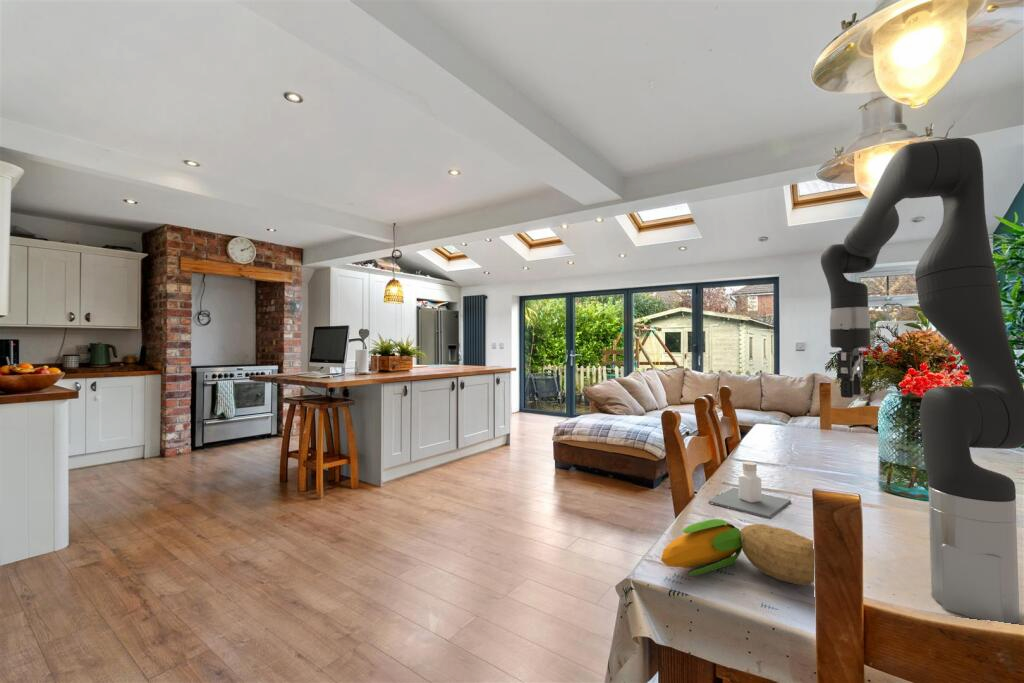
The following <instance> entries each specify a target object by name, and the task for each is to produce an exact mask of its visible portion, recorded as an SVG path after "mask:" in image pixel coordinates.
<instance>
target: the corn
mask: <svg viewBox="0 0 1024 683" xmlns="http://www.w3.org/2000/svg"><path fill="white" fill-rule="evenodd" d="M740 531H741V529H739V528H738V527H736V526H734V525H733V524H732V523H730V522H727V521H725V520H724V519H709V520H704V521H698V522H696V523H692V524H691V525H688V526H686V527H685V528H684V529H682V531H681V532H682V533H684V534H682V535H681V536H679V537H677V538H675V539H674V540H673V539H672V541H671V542H670V543H669V544H668V545H666V547H665V548H663V551H662V555H661V559H660V561H661V562H662V563H663V564H665V565H666V566H667V567H670V568H671V567H673V568H686V569H694V568H697V567H700V566H704V567H701V568H698V569H695V570H692V571H690V572H689V573H688V574H687V576H690V577H691V575H693V576H699V575H698V574H700V575H703V574H707V573H710V572H712V570H713V571H716V570H718V568H719V569H721V568H724V567H727V566H731V565H733V564H735V563H736V561H737V559H738V558H739V556H740V555H741V552H742V551H743V550H742V545H741V537H740ZM711 563H712V564H711ZM708 564H710V565H708ZM705 565H708V566H705ZM715 569H716V570H715ZM709 571H710V572H709ZM706 572H707V573H706ZM702 573H703V574H702Z"/></svg>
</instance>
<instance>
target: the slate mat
mask: <svg viewBox="0 0 1024 683" xmlns="http://www.w3.org/2000/svg"><path fill="white" fill-rule="evenodd" d="M761 496H762V500H761V501H759V502H753V503H750V502H747V501H745V500H742V499H740V498H739V487H738V488H737V487H732V488H730V489H728V490H727V491H725V492H723V493H721V494H719V495H717V496H715V497H713V498H711V499H709V500H708V504H709V503H713V504H717V505H722V506H725V507H729V508H732V509H731V510H733V509H735V510H734V511H737V510H739V511H738V512H741V511H743V512H742V513H745V512H746V514H748V515H749V514H751V515H753V516H758V517H762V518H766V519H770V518H773V516H774V515H776V514H777V513H778V512H780V511H781V510H782V509H785V507H787V506H788V505H789V504H791V502H792V500H791V499H788V498H784V497H779V496H774V495H769V494H765V493H761ZM713 504H712V505H713ZM787 504H788V505H787ZM717 505H716V506H717ZM725 507H724V508H725ZM729 508H728V509H729Z"/></svg>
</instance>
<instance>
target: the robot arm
mask: <svg viewBox="0 0 1024 683" xmlns="http://www.w3.org/2000/svg"><path fill="white" fill-rule="evenodd" d="M981 152H982V151H981V149H980V147H979V145H978V143H977V142H976V140H974V139H972V138H969V137H955V138H954V137H953V138H943V139H936V140H935V139H934V140H926V141H919V142H918V141H917V142H914V143H913V142H912V143H909V144H906V145H904V146H902V147H900V148H899V149H898V150H897V151H896V152H894V155H893V156H892V157H891V159H889V162H888V163H887V164H886V167H885V168H884V171H883V172H882V175H881V176H880V177H879V178H880V179H879V181H878V182H877V185H876V186H875V188H874V191H873V192H872V195H871V197H870V199H869V201H868V203H867V205H866V208H865V210H864V211H863V213H862V215H861V216H860V217H859V219H857V221H856V222H855V223H854V225H853V226H852V227H851V229H850V230H849V231H848V232H847V234H846V236H845V238H844V240H843V243H836V244H831V245H828V246H827V247H825V248H824V249H823V251H822V253H821V255H820V265H821V268H822V271H823V273H824V276H825V278H826V281H827V285H828V288H829V294H830V315H829V316H830V317H829V338H830V339H829V340H830V344H829V345H830V347H831V348H834V349H836V348H839V349H841V351H837V353H836V363H837V364H836V369H837V370H836V373H837V374H836V378H837V379H838V380H839V381H840V396H841V398H847V399H852V398H854V396H860V395H862V381H861V380H862V378H863V377H864V375H865V374H864V362H863V360H864V357H863V355H864V353H863V351H859V349H860V348H869V347H870V346H871V320H870V319H871V317H870V313H869V312H870V310H869V290H868V289H869V288H868V286H867V285H866V284H865V283H861V282H856V281H852V280H851V281H850V280H849V279H847V277H846V276H845V275H844V274H857V273H858V274H860V273H861V274H862V273H866V272H868V271H870V270H872V269H873V268H874V267H875V266H876V263H877V260H878V256H879V254H880V252H881V249H882V248H883V247H884V246H885V245H886V244H887V243H888V242H889V240H891V239H892V238H893V237H894V235H895V234H896V232H897V230H898V228H899V224H900V216H899V213H898V210H897V208H896V206H897V204H898V203H899V202H901V201H903V200H905V199H922V198H933V197H940V198H941V201H942V205H943V215H942V216H943V218H942V219H943V220H942V223H941V225H940V227H939V230H938V231H937V233H936V235H935V237H934V238H933V240H932V241H931V242H930V244H929V245H928V246H927V248H926V250H925V252H924V253H923V254H922V256H921V257H920V259H919V261H918V263H917V264H916V267H915V271H914V278H915V284H916V291H917V297H918V305H919V308H920V311H921V313H922V314H923V316H924V317H925V318H926V319H927V321H928V322H929V323H930V324H931V325H932V326H933V327H934V328H935V329H936V330H937V331H938V332H939V333H940V334H941V335H942V336H943V337H944V338H945V339H946V340H947V341H948V342H949V343H950V344H951V345H952V346H953V348H955V349H956V350H957V351H958V353H959V354H960V355H961V357H962V359H963V360H964V363H965V364H966V367H967V369H968V373H969V375H970V379H971V383H972V386H947V385H945V386H942V385H941V386H934V387H931V388H929V389H927V390H926V392H925V393H924V394H923V396H922V398H921V401H920V406H919V420H920V431H921V440H922V450H923V463H924V467H925V470H926V473H927V477H928V478H927V480H928V481H927V484H928V516H929V518H928V520H929V555H930V557H929V559H930V560H929V562H930V584H931V586H930V589H931V590H930V591H931V592H930V595H931V597H932V598H933V599H934V600H935V601H936V602H937V603H939V604H940V605H941V606H942V608H943V609H944V610H947V611H950V612H953V613H956V614H960V615H963V616H966V617H970V618H973V619H977V620H979V619H982V620H990V621H998V622H1004V623H1011V624H1015V623H1018V622H1019V621H1020V590H1019V564H1018V563H1019V562H1018V560H1019V559H1018V536H1017V535H1018V531H1017V530H1018V528H1017V527H1018V526H1017V500H1016V498H1017V497H1016V496H1017V494H1016V485H1015V484H1016V483H1015V482H1014V480H1013V479H1012V478H1011V477H1009V476H1007V475H1005V474H1002V473H999V472H998V471H993V470H990V469H987V468H984V467H982V466H980V465H978V464H976V463H975V462H974V461H973V459H972V454H971V450H970V448H972V449H973V448H974V449H976V448H977V449H999V450H1001V449H1007V450H1010V449H1018V448H1021V447H1022V446H1023V445H1024V386H1023V382H1022V380H1021V377H1020V374H1019V372H1018V368H1017V365H1016V362H1015V358H1014V355H1013V352H1012V349H1011V344H1010V342H1009V336H1008V333H1007V327H1006V324H1005V323H1006V322H1005V318H1004V313H1003V307H1002V300H1001V293H1000V286H999V280H998V274H997V270H996V265H995V261H994V259H993V258H994V257H993V254H992V249H991V244H990V238H989V237H990V236H989V232H988V230H989V229H988V226H987V218H986V207H985V206H986V204H985V189H984V188H985V186H984V185H985V184H984V182H985V181H984V167H983V165H984V164H983V158H982V157H983V156H982V153H981ZM982 620H981V621H982Z"/></svg>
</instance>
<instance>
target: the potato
mask: <svg viewBox="0 0 1024 683" xmlns="http://www.w3.org/2000/svg"><path fill="white" fill-rule="evenodd" d="M740 537H741V545H742V550H741V551H742V552H743V554H744V555H745V557H746V558H747V560H748V561H749V562H750V563H751V564H752V566H754V567H755V568H756V569H758V570H759V571H761V572H762V573H764V574H766V575H768V576H770V577H773V578H775V579H777V580H780V581H782V582H784V581H785V583H788V582H789V583H790V584H794V585H797V586H798V585H799V586H804V585H811V584H812V583H814V582H815V581H814V549H813V541H814V540H812V539H809V538H807V537H805V536H803V535H800V534H797V533H796V532H794V531H792V530H790V529H786V528H781V527H776V526H775V527H774V526H771V525H767V524H762V523H753V524H749V525H745V526H744V527H743V528H741V529H740ZM789 583H788V584H789Z"/></svg>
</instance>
